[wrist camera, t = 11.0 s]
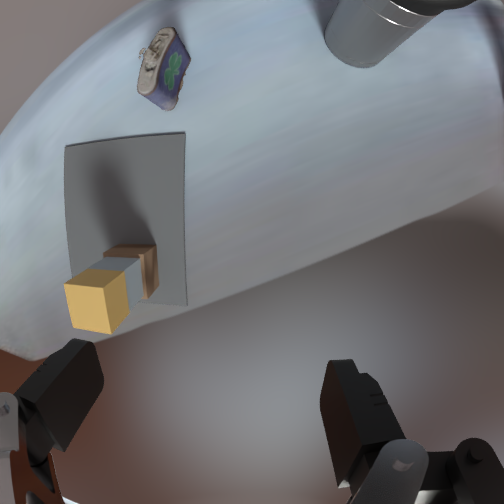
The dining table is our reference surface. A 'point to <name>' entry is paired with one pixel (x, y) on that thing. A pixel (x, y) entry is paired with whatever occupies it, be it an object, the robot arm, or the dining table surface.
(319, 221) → the dining table surface
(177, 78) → the flask
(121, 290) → the ochre block
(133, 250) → the tower base
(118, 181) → the slate mat
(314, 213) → the dining table surface
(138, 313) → the dining table surface
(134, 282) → the tower mid
